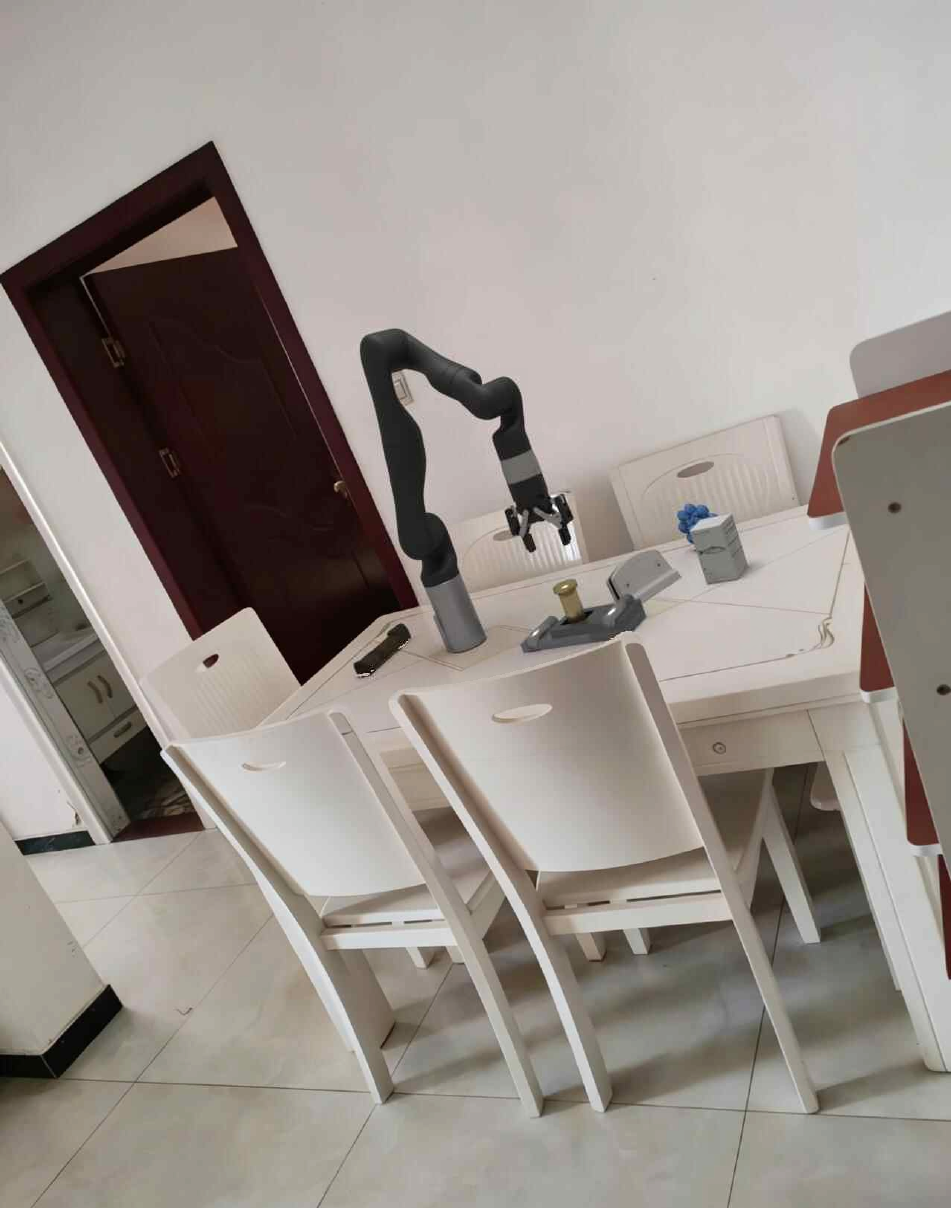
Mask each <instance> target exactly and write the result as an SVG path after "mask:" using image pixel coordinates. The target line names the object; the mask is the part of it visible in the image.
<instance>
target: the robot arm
mask: <svg viewBox="0 0 951 1208" xmlns="http://www.w3.org/2000/svg"><path fill="white" fill-rule="evenodd" d="M359 356H360V362H361V366H362V370H363V373H364V376H365V380H366V383H367V386H368V389H369V392H370V393H369V394H370V395H371V399H372V403H373V407H374V412H375V415H376V419H377V424H378V428H379V433H380V440H381V445H382V451H383V455H384V460H385V464H386V468H387V473H388V478H389V483H390V488H391V493H392V498H393V502H394V511H395V519H396V528H397V529H396V530H397V539H398V543H399V545H400V546H399V547H400V548H401V550H402V552H403V553H404V554H405V555H406V556H407V557H408V558H409V559H411V560H414V561H421V571H420V576H419V578H420V581H421V583H422V586H423V588H424V591H425V593H426V595H427V598H428V600H429V602H430V605H431V607H432V609H433V612H434V614H433V616H432V619H433V621H434V623H435V626H436V628H437V630H438V632H439V635H440V637H441V640H442V641H443V644H444V646H445V649H446V651H447V652H451V653H454V652H456V653H460V652H464V651H465V652H466V651H468V650H470V649H473V648H475V647H477V646H479V645H480V644H482V643H483V642H484V641H485V640H486V639H487V635H486V633H485V630H484V628H483V626H482V623H481V621H480V620H481V619H480V618H479V615H478V613H477V611H476V607H475V605H474V603H473V601H472V598H471V595H470V593H469V591H468V588H467V586H466V584H465V582H464V579H463V577H462V574H461V572H460V569H459V566H458V557H457V552H456V550H455V549H456V548H455V547H454V545H453V541H452V539H451V536H450V533H449V531H448V529H447V526H446V525H445V523H444V521H443V520H442V519H441V517H439V516H438V515H437V514H435V513H433V512H427V510H426V506H425V505H426V504H425V486H426V485H425V483H426V475H427V453H426V448H425V447H426V446H425V442H424V438H423V432H422V430H421V427H420V426H419V424H418V423H417V421H416V420H415V419H414V417H413V416H412V414H410V412H409V411H408V410H407V409H406V407H405V406H404V405H403V404H402V402H401V400H400V399H399V397H398V395H397V392H396V388H395V383H394V380H393V374H395V373H399V372H402V371H404V370H409V371H412V372H413V371H414V372H416V373H417V372H418V373H420V374H422V375H423V376H425V379H426V380H427V381H428V383H429V384H430V386H431V387H432V388H433V389H434V390H436V392H438V393H439V394H442V395H444V396H446V397H448V398H450V399H452V400H455V401H457V402H458V403H460V404H461V405H462V406H463V407H464V408H465V409H466V410H467V411H468V412H469V413H470V414H471V415H472V416H474V417H476V418H477V419H479V420H483V421H491V420H492V421H493V420H494V419H496V418H499V420H500V425H499V427H498V428H497V429H496V430H495V431H494V432H493V433H492V436H491V439H492V444H493V447H494V449H495V452H496V455H497V457H498V460H499V463H500V466H501V472H502V475H503V477H504V480H505V482H506V485H507V488H508V491H509V492H510V493H509V494H510V496H511V499H512V501H513V502H514V503H515V506H514V505H510V506H509V507H508V508H506V509H504V516H505V518H506V521H507V524H508V528H509V531H510V534H511V536H514V537H515V536H518V537H520V538H521V539H522V542H523V545H524V547H525V550H526V551H528V553H529V554H530V553H531V554H532V553H534V552H535V551H537V546H536V543H535V540H534V537H533V534H532V533H530V531H531V527H532V525H534V524H536V523H543V522H545V521H546V522H547V523H548V524H552V525H553V526H555V527H556V528H557V533H558V535H559V538H560V541H561V545H562V546H563V547H566V546H568V545H569V544H571V540H572V536H571V533H570V529H569V527H568V524H569V523H571V522H572V521H574V515H573V513H572V510H571V508H570V505H569V502H568V501H567V498H566V495H565V494H564V493H560V494H558V495H557V496H553V497H552V496H551V495H550V494H549V489H548V485H547V483H546V480H545V477H544V474H543V471H542V468H541V465H540V463H539V460H538V458H537V456H536V454H535V452H534V450H533V448H532V444H531V442H530V439H529V435H528V434H527V431H526V425H525V423H526V422H525V414H524V405H523V402H524V401H523V396H522V392H521V390H520V388H519V386H518V384H517V383H516V382H515V380H514V379H511V378H510V377H508V376H499V377H497V378H495V379H492V380H490V381H487V382H486V383H483V380H482V376H481V375H480V374H479V373H478V371H476V370H474V369H472V368H470V367H469V366H466V365H463V364H461V363H458V362H457V361H454V360H451V359H449V358H447V357H445V356H443V355H442V354H440V353H438V352H437V351H435V350H433V349H432V348H430V346H428V345H426V344H424V343H423V342H422V341H420V340H419V339H418V338H416V337H415V336H413V335H411V334H410V333H409V332H408V331H405V330H404V329H401V328H393V327H392V328H388V329H387V328H386V329H383V330H380V331H375V332H371V333H368V334H365V335H364V336H363V337H362V338H361V341H360V344H359ZM553 505H554V507H556V508H557V510H556V509H555V508H554V507H553ZM518 516H521V517H522V518H521V521H520V519H519V517H518ZM520 522H521V523H520Z"/></svg>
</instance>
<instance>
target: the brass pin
mask: <svg viewBox="0 0 951 1208" xmlns="http://www.w3.org/2000/svg"><path fill="white" fill-rule="evenodd" d="M577 587H578V582H577V579H575V578H570V579H565V580H563V581H560V582H557V584H554V586H553V587H552V592H553V593H554V595H555V596H556V595H558V598H559V601H560V604H561V606H562V609H563V612H564V614H565V615H566V617H567V619H568V622H569V624H574V623H580V622H584V621H585V620H586V619H587V616H586V614H585V611H584V607H583V603H582V600H581V598H580V595H579V594H578V590H577Z"/></svg>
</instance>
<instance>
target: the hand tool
mask: <svg viewBox="0 0 951 1208" xmlns="http://www.w3.org/2000/svg"><path fill="white" fill-rule="evenodd" d="M386 636H387V637H386V638H384V639H383V640H382V641H381V642H379V644H377V645H376V647H374V648H373V649H372V650H371V651H369V652H368V653H366V654H365V655H364V656H362V658H361V659H360V660H359V659H358V660H357V661H355V662H354V663H353V669H354V671H355V673H356V675H357V674H363V673H370V672H371V670H374V671H375V669H376V668H377V667H378V666H379V665H380V664H381V663H382V662H381V661H383V660H384V659H385V660H387V659H388V658H389V655H390V656H391V655H392V654H393V653H394V652H395V651H397V650H396V649H398V648H399V647H400V646H402V645H403V644H405V643H406V641H408V639H409V638H410V637H411V638H412V634H411V633H410V630H409V629H408V627H407V626H406V625H405V624H404V623H402V622H400V623H398V624H396V625H395V626H393V627H392V628H391V629H389V630H388V631H387V633H386ZM411 638H410V639H411ZM398 650H399V649H398ZM392 652H393V653H392ZM385 660H384V661H385ZM384 661H383V662H384ZM380 662H381V663H380ZM378 664H379V665H378ZM377 665H378V666H377ZM376 666H377V667H376ZM375 667H376V668H375ZM374 668H375V669H374ZM371 673H372V672H371Z"/></svg>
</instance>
